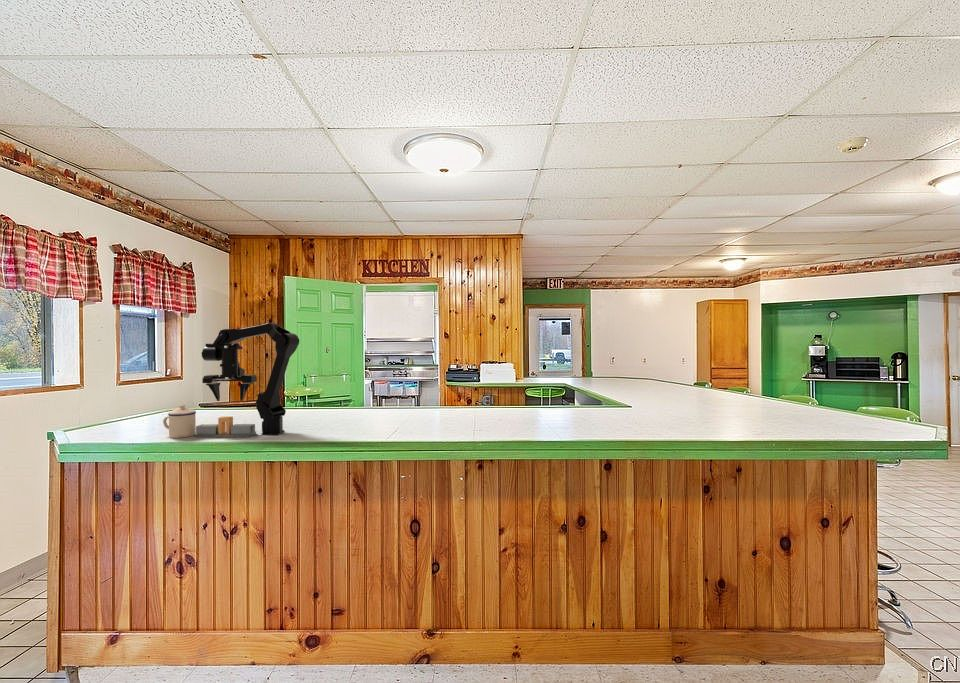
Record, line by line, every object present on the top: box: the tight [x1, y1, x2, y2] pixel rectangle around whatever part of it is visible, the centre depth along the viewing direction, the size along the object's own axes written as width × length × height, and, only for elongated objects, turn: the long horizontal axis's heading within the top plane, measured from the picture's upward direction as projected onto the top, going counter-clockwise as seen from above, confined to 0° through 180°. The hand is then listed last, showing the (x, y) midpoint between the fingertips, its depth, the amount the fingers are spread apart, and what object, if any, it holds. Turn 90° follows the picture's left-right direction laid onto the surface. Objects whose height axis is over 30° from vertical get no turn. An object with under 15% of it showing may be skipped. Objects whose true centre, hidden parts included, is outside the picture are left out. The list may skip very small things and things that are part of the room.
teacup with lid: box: [162, 404, 197, 439], centre depth 188 cm, size 12×9×12 cm
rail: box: [194, 423, 257, 439], centre depth 188 cm, size 20×6×4 cm, turn 91°
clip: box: [217, 416, 234, 434], centre depth 188 cm, size 4×3×6 cm
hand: (230, 400), depth 195 cm, fingers open, 9 cm apart
